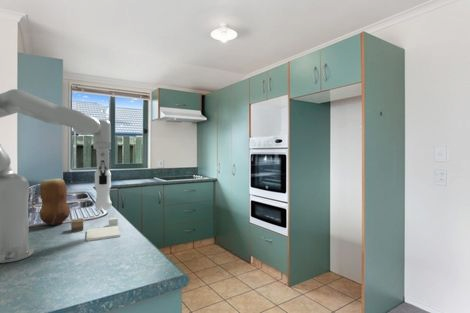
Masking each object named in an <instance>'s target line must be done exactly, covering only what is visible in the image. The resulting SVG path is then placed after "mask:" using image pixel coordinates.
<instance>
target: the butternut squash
mask: <svg viewBox="0 0 470 313" xmlns="http://www.w3.org/2000/svg"><path fill="white" fill-rule="evenodd" d="M39 184H40V185H39V190H40V191H39V192H40V193H39V195H40V200H41V207H40V210H39V218H40V220H41V221H42V222H43V223H44V224H47V225H50V226H53V225H54V226H57V225H58V226H59V225H61V224H63V222H65V221H66V219H68V218H69V217H70V212H71V210H70V207H69V204H68V202H67V194H68V190H67V186H66V182H65V180H64V179H62V178H52V179H43V180H41V182H40V183H39Z"/></svg>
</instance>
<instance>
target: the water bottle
mask: <svg viewBox="0 0 470 313" xmlns="http://www.w3.org/2000/svg"><path fill="white" fill-rule="evenodd" d="M99 168H100V169H101V166H100V167H99ZM100 169H99V170H100ZM104 169H105V168H104ZM99 170H98V167H97V169H96V170H95V172H94V188H95V189H94V190H95V191H96V199H95V202H94V206H95V208H96V209H97V210H96V211H102V209H103V211H107V210H109V209H111V207H112V200H111V198H110V197H111V196H110V190H111V188H112V173H111V171H110V169H109V170H108V169H107V168H106V176H107V184H99V176H100V171H99Z"/></svg>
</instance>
